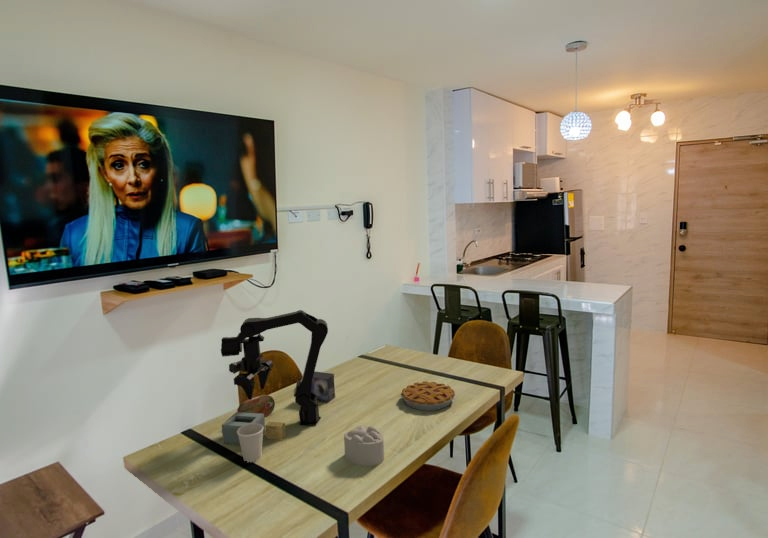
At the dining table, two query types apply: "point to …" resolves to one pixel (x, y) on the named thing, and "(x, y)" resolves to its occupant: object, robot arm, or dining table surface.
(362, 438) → the lumpy-topped squat cylinder
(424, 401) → the pie
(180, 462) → the dining table surface
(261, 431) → the dixie cup
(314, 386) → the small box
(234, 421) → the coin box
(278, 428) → the tan rectangular block
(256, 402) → the tin
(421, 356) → the dining table surface
